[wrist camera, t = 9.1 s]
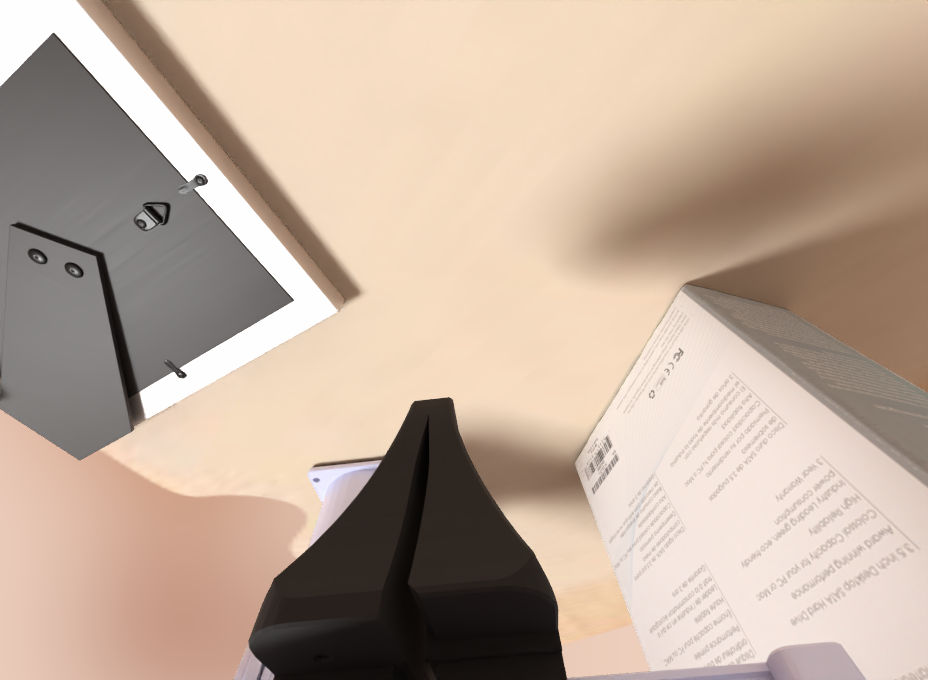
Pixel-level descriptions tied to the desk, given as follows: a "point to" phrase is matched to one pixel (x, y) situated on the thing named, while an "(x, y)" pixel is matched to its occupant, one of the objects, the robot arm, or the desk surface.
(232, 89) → the desk surface
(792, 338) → the hard drive box
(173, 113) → the picture frame
